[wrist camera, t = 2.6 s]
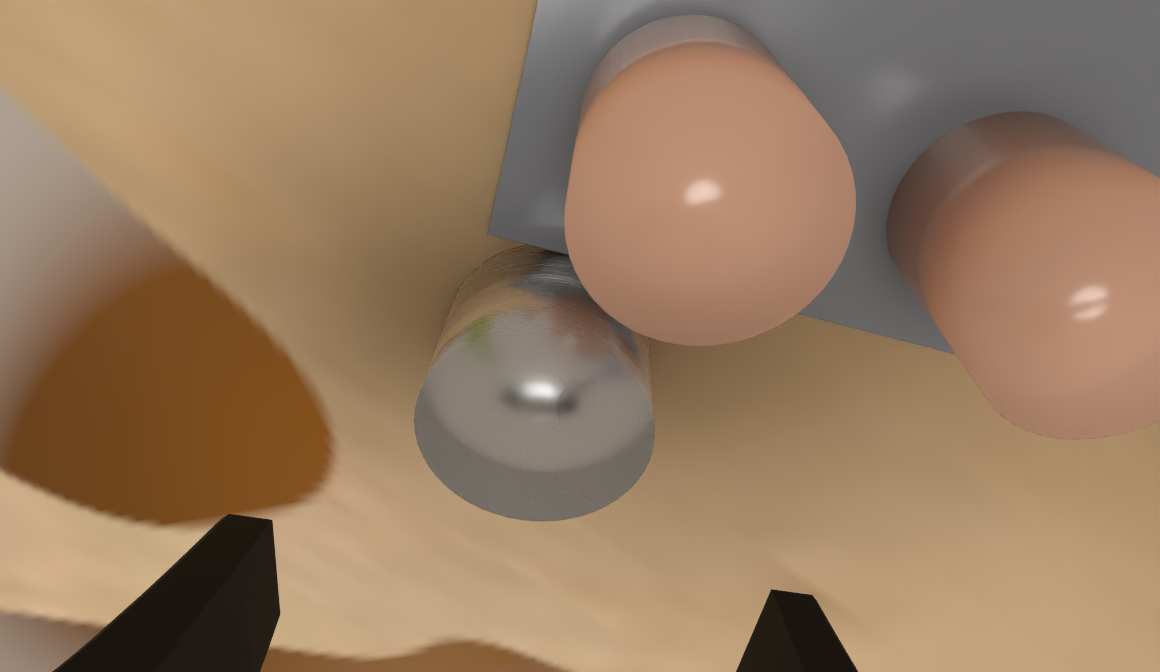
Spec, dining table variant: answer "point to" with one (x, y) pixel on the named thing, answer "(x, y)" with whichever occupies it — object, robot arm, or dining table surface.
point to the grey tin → (535, 393)
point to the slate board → (858, 104)
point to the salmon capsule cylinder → (1039, 270)
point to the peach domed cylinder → (703, 186)
